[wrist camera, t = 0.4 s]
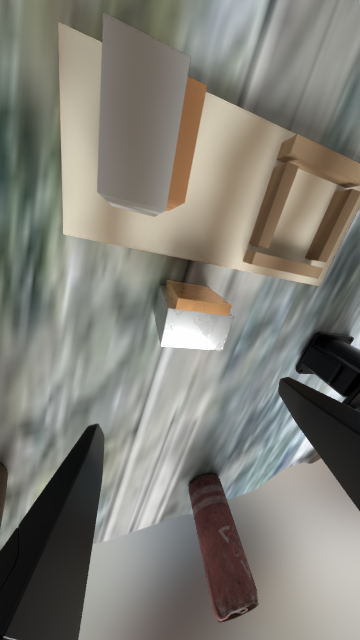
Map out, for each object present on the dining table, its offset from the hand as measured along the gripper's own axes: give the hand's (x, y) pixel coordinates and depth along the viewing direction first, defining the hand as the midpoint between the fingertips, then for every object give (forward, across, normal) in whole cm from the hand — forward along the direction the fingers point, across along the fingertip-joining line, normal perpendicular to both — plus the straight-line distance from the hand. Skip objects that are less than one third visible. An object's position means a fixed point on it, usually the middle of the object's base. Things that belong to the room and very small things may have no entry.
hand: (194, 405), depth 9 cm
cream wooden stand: (+12, -7, -9) cm, 16 cm away
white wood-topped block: (+12, -2, -1) cm, 12 cm away
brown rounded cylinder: (+12, -2, +36) cm, 38 cm away
